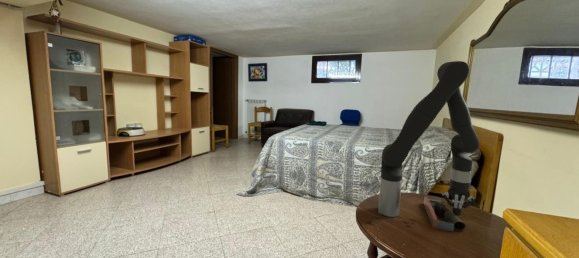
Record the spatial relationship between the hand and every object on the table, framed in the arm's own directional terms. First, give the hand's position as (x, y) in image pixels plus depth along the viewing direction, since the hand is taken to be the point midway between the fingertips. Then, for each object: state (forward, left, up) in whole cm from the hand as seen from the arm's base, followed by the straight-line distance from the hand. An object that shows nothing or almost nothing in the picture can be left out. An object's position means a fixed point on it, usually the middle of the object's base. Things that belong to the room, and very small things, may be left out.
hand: (456, 215), depth 108 cm
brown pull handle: (-7, 0, -2) cm, 7 cm away
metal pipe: (-4, -2, -3) cm, 5 cm away
